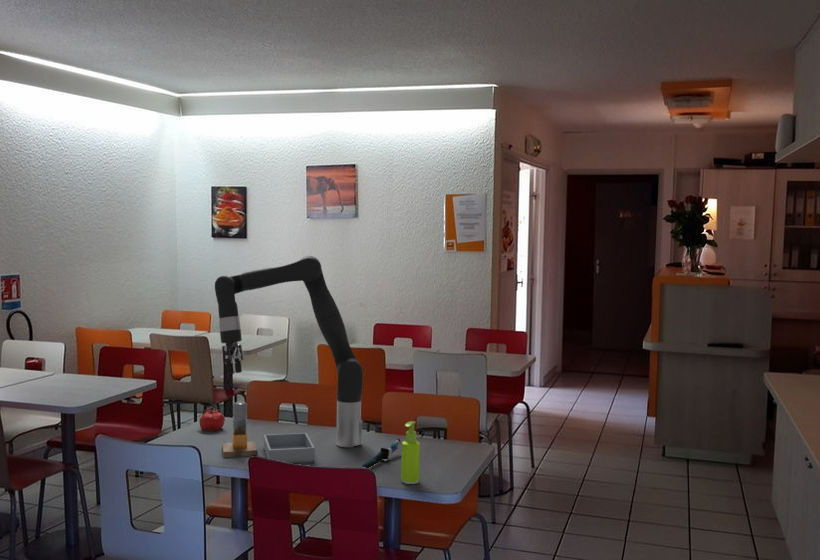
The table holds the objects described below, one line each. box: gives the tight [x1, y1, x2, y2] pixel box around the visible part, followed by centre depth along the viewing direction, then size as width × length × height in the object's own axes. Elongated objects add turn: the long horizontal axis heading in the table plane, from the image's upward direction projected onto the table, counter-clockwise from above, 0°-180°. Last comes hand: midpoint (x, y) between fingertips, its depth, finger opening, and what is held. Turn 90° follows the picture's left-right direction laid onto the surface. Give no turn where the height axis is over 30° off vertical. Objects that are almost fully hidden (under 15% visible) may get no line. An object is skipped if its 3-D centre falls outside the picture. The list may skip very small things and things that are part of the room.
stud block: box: [221, 440, 259, 458], centre depth 283 cm, size 12×12×6 cm
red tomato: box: [199, 406, 226, 432], centre depth 314 cm, size 10×10×9 cm
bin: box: [263, 432, 316, 464], centre depth 281 cm, size 16×21×5 cm
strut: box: [231, 401, 248, 449], centre depth 283 cm, size 5×5×16 cm
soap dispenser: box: [400, 420, 421, 482], centre depth 253 cm, size 6×7×20 cm
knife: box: [361, 438, 402, 468], centre depth 273 cm, size 31×3×4 cm, turn 150°
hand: (234, 373), depth 284 cm, fingers open, 8 cm apart
